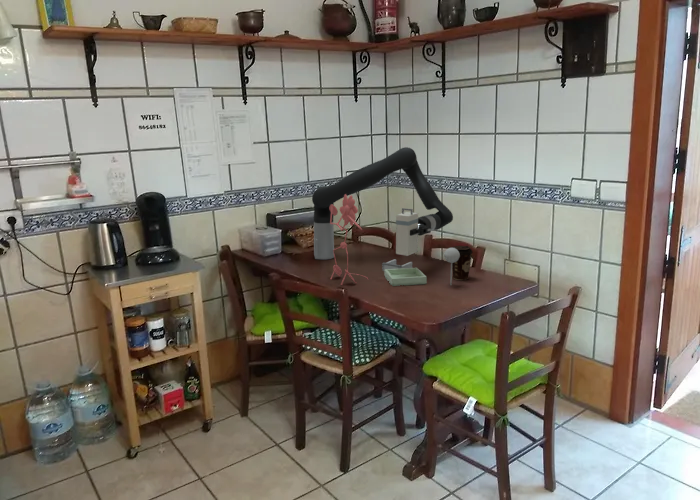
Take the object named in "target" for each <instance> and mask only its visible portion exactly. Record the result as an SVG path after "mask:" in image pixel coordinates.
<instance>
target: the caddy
mask: <svg viewBox="0 0 700 500" xmlns="http://www.w3.org/2000/svg"><path fill="white" fill-rule="evenodd" d="M413 209H414V208H403V207H401V213H398V214H396V215H395V254H396V255H401V256H406V257H408V256H410V255H413V254H416V253H417V252H418V246H419V245H418V244H419V241H418V240H419V239H418V238H419V235H416V234H415V235H412V236H410V230H412V229H416V228H417V226H418V218H419V213H418V212H413V211H414V210H413Z"/></svg>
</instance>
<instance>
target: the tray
mask: <svg viewBox="0 0 700 500" xmlns="http://www.w3.org/2000/svg"><path fill="white" fill-rule="evenodd" d="M383 273H384V274H383V275H384V276H385V277H384V278H385V280H386V281H387V282H388V281H389V282H388V283H389V285H390V286H391V285H392V286H391V287H399V286H400V285H402V286H403V285H404V286H419V285H427V284H428V283H427V279H428V278H427V275H425V274H424V273H423V271H421V270H420V269H419V268H418V267H412V268H401V269H384V271H383ZM402 286H400V287H402Z"/></svg>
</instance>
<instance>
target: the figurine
mask: <svg viewBox="0 0 700 500" xmlns="http://www.w3.org/2000/svg"><path fill="white" fill-rule="evenodd" d="M348 196H349V197H348ZM348 196H347V195H346V194H345V195H344V197H343V198H342V206H340V207H339V212H340V213H341V216H340V218H339V219H338V222H333V223H331V221H332V214H333V215H334V216H335V217H336V215H338V209H337V207H336V206H335V205H334V206H333V204H332V205H330V207H329V210H330V212H331V218H330V224H333V225H336V226H337V227H339V229H340V231H341V232H343V231H345V235H344V241H343V242H340V246H339V247H336V248H334V250H333V253H334V258H333V259H334V262H335V264H334V265H333V266H332V270H333V271H332V274H331V277H330V280H332V279H333V277H334V276H335V275H334V274H336V275H337V276H338V277H340V276H341V275H342V274H343V273H342V272H343V271H342V269H341V267H340V266H339V265H337V260H336V255H335V251H336V250H337V249H340V248H341V250H342V249H344V250H345V251H346V269H344V271H345V272H344V276H343V279H342V281H341V283H340V285H341V286H343V283H344V281H345V279H346V277H347V275H348V276H349V278H350V279H351V280H352V281H353V282H354V283H355V284H357V281H356V280H355V278H354V277H353V276H352V275H357V276H359V274H358V273H352V272H349V253H348V243H346V240H347V235H348V232H349V231H348V230H347V229H346V227H345V226H348V225H349V224H350V226H351V227H353V225H355V226H356V227H357V228H358V229H359V230H360V231H363V229H362V227H361V226H360V225H359V224H358V223H357V221H356V219H357V217H356V214H357V213H358V211H359V209H358V207H357V206H356V205H355V203H356V201H355V199H354V198H353V194H351V195H348ZM334 216H333V217H334ZM342 219H343V223H344V224H343V226H342V225H340V223H341V220H342ZM360 276H361V277H365V278H366V279H367V280H369V279H368V277H367V276H366V275H361V274H360Z"/></svg>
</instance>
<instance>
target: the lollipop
mask: <svg viewBox="0 0 700 500" xmlns="http://www.w3.org/2000/svg"><path fill="white" fill-rule="evenodd" d="M443 257H444V260H445V261H446V262H448V263H450V283H449V285H450V286H452V285H453V284H452V281H453V270H452V263H454V262H456V261H457V260H458V259H459V257H460V253H459V251H458V250H457V249H455V248H453V247H448V248H447V249H445V251H444V253H443Z"/></svg>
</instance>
